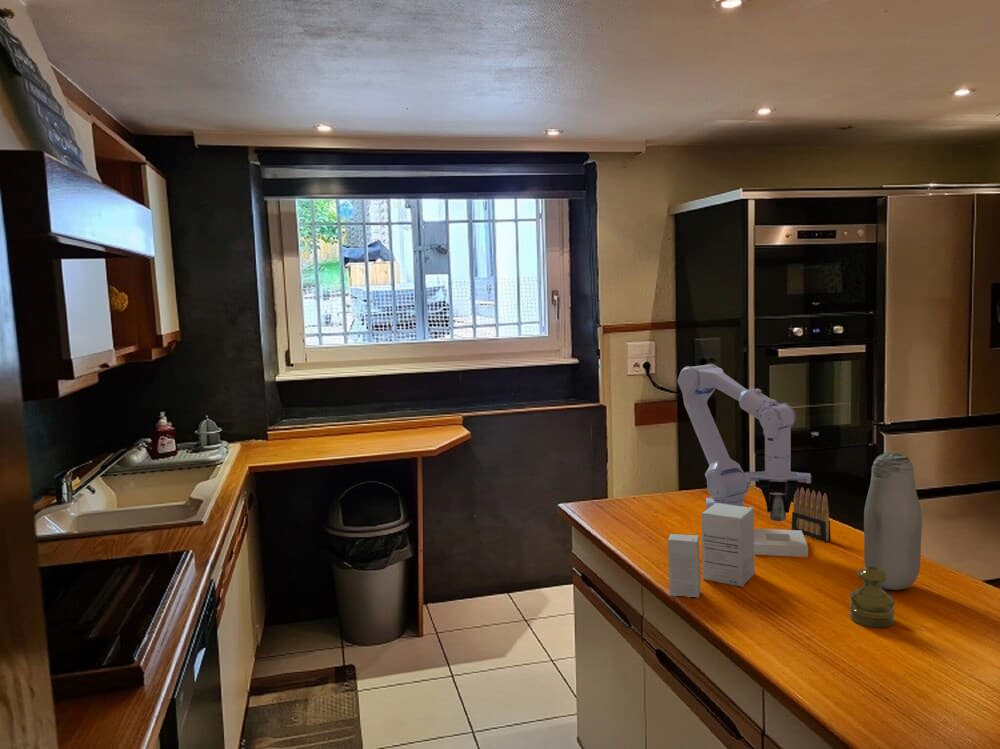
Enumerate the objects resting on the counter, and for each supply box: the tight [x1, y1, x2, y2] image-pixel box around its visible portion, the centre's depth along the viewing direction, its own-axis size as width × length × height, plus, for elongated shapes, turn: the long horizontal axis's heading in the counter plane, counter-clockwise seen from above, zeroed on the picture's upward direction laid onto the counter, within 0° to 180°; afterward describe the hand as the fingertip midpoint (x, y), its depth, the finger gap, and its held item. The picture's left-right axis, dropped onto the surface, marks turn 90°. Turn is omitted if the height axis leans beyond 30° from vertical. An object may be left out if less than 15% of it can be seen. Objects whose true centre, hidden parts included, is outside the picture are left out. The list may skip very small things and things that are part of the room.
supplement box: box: [700, 503, 756, 588], centre depth 163 cm, size 9×9×15 cm
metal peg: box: [769, 492, 787, 522], centre depth 180 cm, size 4×4×6 cm
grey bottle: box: [863, 452, 923, 591], centre depth 153 cm, size 10×10×28 cm
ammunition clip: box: [791, 486, 832, 543], centre depth 187 cm, size 11×2×12 cm, turn 25°
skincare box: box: [667, 533, 701, 599], centre depth 155 cm, size 6×4×12 cm
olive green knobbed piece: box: [849, 567, 895, 629], centre depth 139 cm, size 7×7×10 cm
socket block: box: [754, 528, 809, 558], centre depth 181 cm, size 12×12×2 cm
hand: (777, 511), depth 180 cm, fingers closed on metal peg, 3 cm apart
